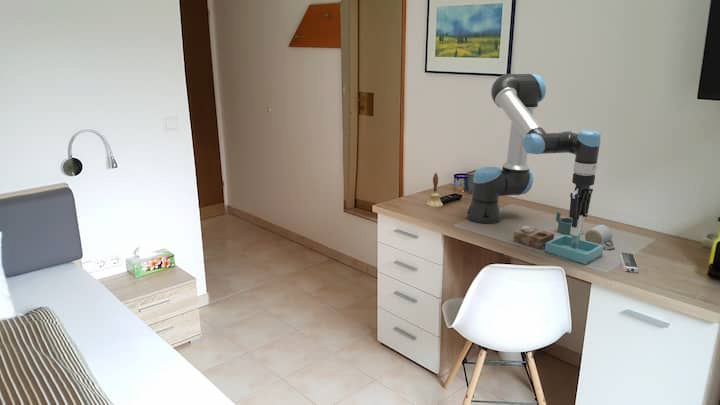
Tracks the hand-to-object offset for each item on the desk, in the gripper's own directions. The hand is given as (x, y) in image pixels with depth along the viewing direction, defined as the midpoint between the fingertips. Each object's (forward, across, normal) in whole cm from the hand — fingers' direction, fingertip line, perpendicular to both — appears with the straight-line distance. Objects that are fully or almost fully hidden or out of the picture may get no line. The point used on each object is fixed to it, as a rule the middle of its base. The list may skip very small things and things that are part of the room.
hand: (576, 233), depth 203 cm
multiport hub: (+9, +6, -18) cm, 21 cm away
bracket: (+8, +23, +14) cm, 28 cm away
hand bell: (+8, +10, +77) cm, 78 cm away
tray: (+8, 0, 0) cm, 8 cm away
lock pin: (+6, 0, 0) cm, 6 cm away
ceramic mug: (+9, +18, -2) cm, 20 cm away
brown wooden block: (+8, 0, +17) cm, 19 cm away
